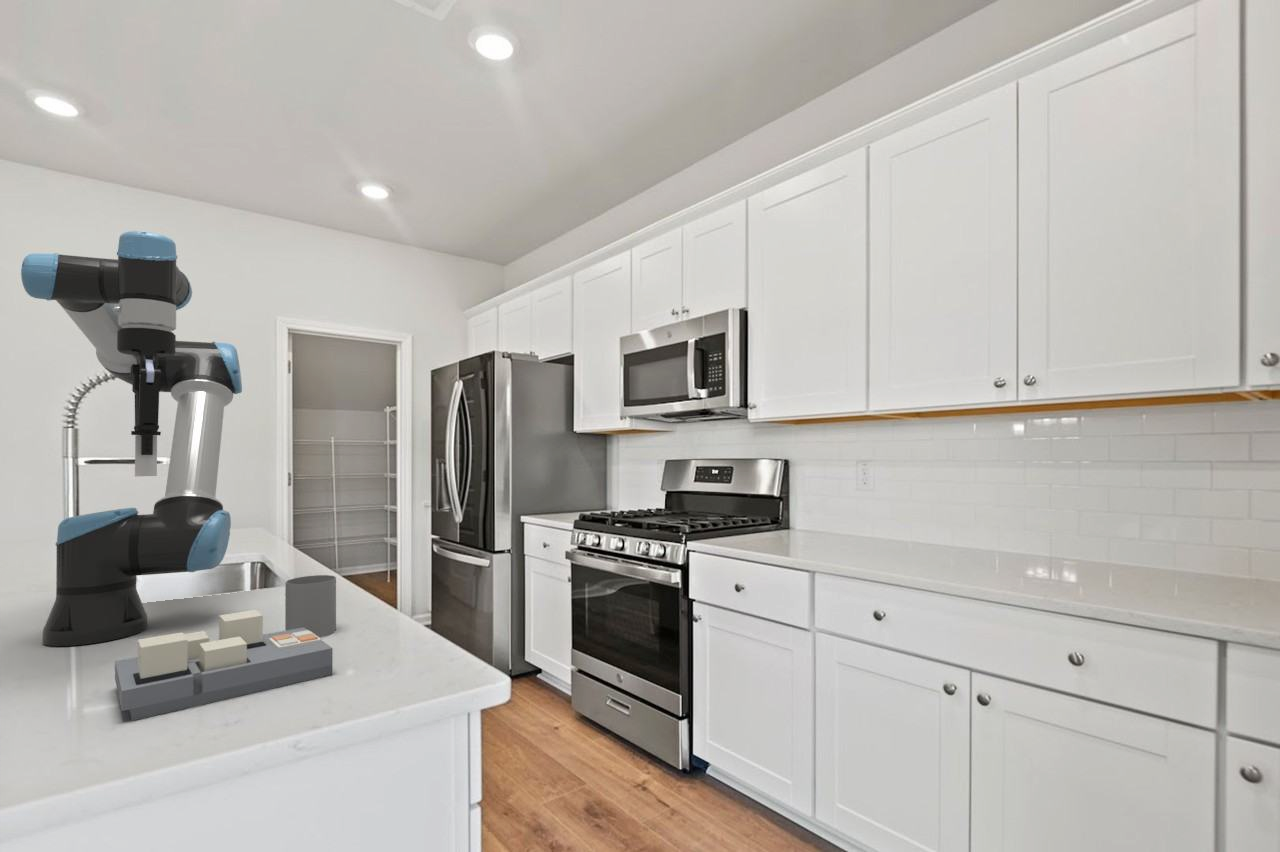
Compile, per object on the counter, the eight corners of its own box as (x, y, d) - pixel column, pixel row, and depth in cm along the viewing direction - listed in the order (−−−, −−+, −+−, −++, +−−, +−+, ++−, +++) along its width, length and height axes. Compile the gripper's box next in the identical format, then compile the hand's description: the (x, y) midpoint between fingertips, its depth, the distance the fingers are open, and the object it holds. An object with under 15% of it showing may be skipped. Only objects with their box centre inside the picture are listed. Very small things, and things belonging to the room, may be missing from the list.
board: (114, 689, 94) (115, 656, 94) (303, 651, 110) (303, 623, 110) (121, 723, 82) (122, 685, 82) (332, 674, 98) (332, 643, 98)
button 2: (163, 664, 96) (163, 637, 96) (203, 657, 100) (203, 631, 100) (167, 673, 92) (167, 645, 93) (208, 665, 96) (209, 637, 96)
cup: (314, 641, 116) (314, 584, 117) (275, 639, 118) (275, 583, 118) (345, 628, 125) (345, 575, 125) (307, 626, 126) (307, 574, 126)
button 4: (219, 641, 101) (219, 615, 101) (255, 634, 104) (255, 609, 104) (224, 648, 97) (225, 621, 97) (262, 641, 100) (262, 615, 101)
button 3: (199, 671, 93) (199, 643, 93) (239, 663, 96) (239, 636, 96) (204, 680, 89) (204, 651, 89) (246, 672, 92) (246, 643, 93)
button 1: (137, 669, 88) (137, 639, 88) (182, 660, 92) (182, 632, 92) (140, 678, 85) (141, 647, 85) (187, 669, 88) (187, 639, 88)
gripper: (115, 333, 107) (113, 476, 107) (119, 321, 98) (118, 478, 97) (170, 337, 112) (169, 474, 112) (180, 326, 103) (179, 476, 102)
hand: (145, 475), depth 104 cm, fingers closed
